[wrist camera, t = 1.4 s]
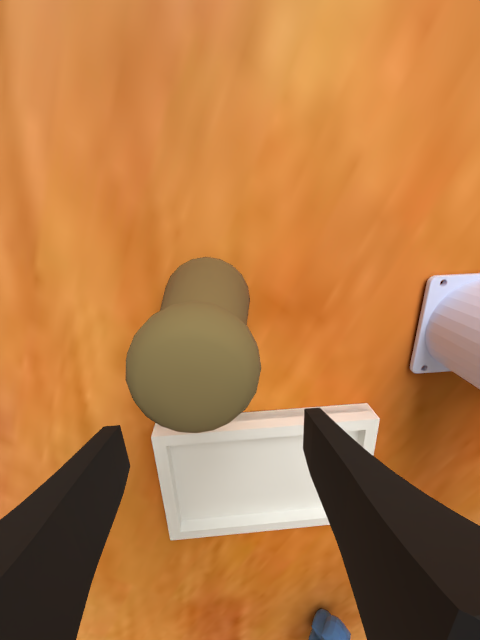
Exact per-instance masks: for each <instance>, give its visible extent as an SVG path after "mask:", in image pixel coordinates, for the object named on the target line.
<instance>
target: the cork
mask: <svg viewBox="0 0 480 640" xmlns="http://www.w3.org/2000/svg"><path fill="white" fill-rule="evenodd" d="M249 302H250V297H249V290H248V286H247V284H246V282H245V280H244V278H243V276H242V275H241V274H240V273H239V272H238V271H237V270H236V269H235V268H234V267H233V266H232V265H230V264H228V263H226V262H224V261H222V260H220V259H215V258H208V257H203V258H197V259H192V260H190V261H188V262H186V263H184V264H183V265H181V266H179V267H178V268H177V270H176V271H175V272H174V273H173V274H172V275H171V276H170V279H169V281H168V283H167V286H166V288H165V292H164V297H163V301H162V305H161V309H160V311H159V312H157V313H156V314H154V315H152V316H151V317H150V318H149V319H148V321H147V322H146V323H145V324H144V325H143V326H142V327H141V328H140V329H139V330H138V332H137V333H136V334H135V335H134V338H133V340H132V343H131V345H130V348H129V350H128V353H127V358H126V382H127V385H128V387H129V390H130V393H131V395H132V398H133V400H134V401H135V403H136V404H137V406H138V407H139V408H140V409H141V411H142V412H143V413H144V414H145V415H146V416H147V417H148V418H150V419H151V420H152V421H154V422H155V423H157V424H158V425H160V426H162V427H165V428H168V429H171V430H174V431H177V432H186V433H201V432H207V431H212V430H215V429H217V428H220V427H222V426H224V425H226V424H228V423H230V422H231V421H232V420H233V419H235V418H236V417H237V416H238V415H239V414H240V413H242V412H243V411H244V410H245V409H246V408H247V406H248V405H249V403H250V402H251V400H252V398H253V397H254V395H255V393H256V390H257V386H258V381H259V376H260V371H261V363H260V357H259V350H258V346H257V343H256V341H255V339H254V338H253V336H252V334H251V332H250V330H249V328H248V327H247V326H246V325H247V317H248V310H249Z"/></svg>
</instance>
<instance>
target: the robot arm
mask: <svg viewBox="0 0 480 640" xmlns="http://www.w3.org/2000/svg"><path fill="white" fill-rule="evenodd" d="M442 280H443V283H442V284H441V285H440V282H441V281H442ZM422 366H424V367H423V368H422ZM410 370H411V371H412V372H413V373H416V374H418V373H432V372H446V371H453V372H454V373H456V374H457V375H459V376H460V377H462V378H463V379H465V380H466V381H468V382H469V383H471V384H472V385H474V386H475V387H477V388H478V389H480V273H473V274H454V275H435V276H432V277H430V278H429V279H428V281H427V285H426V290H425V294H424V299H423V304H422V309H421V314H420V319H419V324H418V329H417V334H416V339H415V343H414V348H413V353H412V358H411V363H410ZM303 451H304V455H305V459H306V462H307V466H308V469H309V473H310V476H311V478H312V481H313V483H314V486H315V488H316V491H317V493H318V496H319V498H320V501H321V503H322V506H323V508H324V511H325V513H326V516H327V518H328V521H329V523H330V526H331V528H332V531H333V533H334V536H335V538H336V541H337V544H338V546H339V549H340V552H341V555H342V558H343V561H344V564H345V568H346V571H347V574H348V577H349V580H350V584H351V587H352V590H353V593H354V597H355V600H356V603H357V607H358V610H359V613H360V617H361V620H362V623H363V627H364V630H365V634H366V637H367V640H480V526H479V525H477V524H475V523H473V522H472V521H470V520H468V519H466V518H465V517H463V516H461V515H459V514H458V513H456V512H454V511H453V510H451V509H449V508H448V507H446V506H444V505H443V504H441V503H440V502H438V501H436V500H435V499H433V498H431V497H430V496H428V495H427V494H425V493H424V492H422V491H421V490H419V489H418V488H416V487H415V486H413V485H412V484H410V483H409V482H407V481H406V480H405V479H403V478H402V477H400V476H399V475H397V474H396V473H395V472H393V471H392V470H391V469H389V468H388V467H387V466H385V465H384V464H383V463H382V462H380V461H379V460H378V459H376V458H375V457H374V456H373V455H371V454H370V453H369V452H368V451H367V450H365V449H364V448H363V447H362V446H361V445H360V444H359V443H357V442H356V441H355V440H354V439H353V438H352V437H351V436H350V435H348V434H347V433H346V432H345V431H344V430H343V429H342V428H341V427H340V426H339V425H338V424H337V423H336V422H334V421H333V420H332V419H331V418H330V417H329V416H328V415H327V414H326V413H325V412H324V411H323V410H322V409H321V408H320V407H319V408H308V409H304V432H303ZM129 468H130V463H129V459H128V455H127V451H126V447H125V443H124V439H123V435H122V431H121V427H120V425H117V426H106V427H103V428H102V429H101V430H100V431H99V432H98V433H97V434H95V435H94V436H93V437H92V438H91V439H90V440H89V441H88V442H87V443H86V444H85V445H84V446H83V447H82V448H81V449H80V450H79V451H78V452H77V453H76V454H75V455H74V456H73V457H72V458H71V459H70V460H68V461H67V462H66V463H65V464H64V465H63V466H62V467H61V468H60V469H59V470H58V471H57V472H56V473H55V474H54V475H52V476H51V477H50V478H49V479H48V480H47V481H46V482H45V483H43V484H42V485H41V486H40V487H39V488H38V489H37V490H36V491H34V492H33V493H32V494H31V495H30V496H29V497H28V498H27V499H25V500H24V501H23V502H22V503H21V504H19V505H18V506H17V507H16V508H15V509H13V510H12V511H11V512H10V513H8V514H7V515H6V516H5V517H3V518H2V519H1V520H0V640H76V638H77V634H78V630H79V626H80V622H81V619H82V615H83V611H84V608H85V604H86V601H87V597H88V594H89V590H90V586H91V583H92V580H93V577H94V574H95V571H96V568H97V565H98V562H99V559H100V556H101V554H102V551H103V548H104V546H105V543H106V540H107V537H108V535H109V532H110V529H111V527H112V524H113V521H114V519H115V516H116V513H117V510H118V507H119V505H120V502H121V499H122V496H123V493H124V489H125V485H126V481H127V477H128V473H129Z"/></svg>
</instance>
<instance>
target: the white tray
mask: <svg viewBox="0 0 480 640" xmlns="http://www.w3.org/2000/svg"><path fill="white" fill-rule="evenodd" d="M309 408H319V407H309ZM320 408H321V409H322V410H323V411H324V412H325V413H326V414H327V415H328V416H329V417H330V418H331V419H332V420H333V421H334V422H336V423H337V424H338V425H339V426H340V427H341V428H342V429H343V430H344V431H345V432H346V433H347V434H348V435H350V436H351V437H352V438H353V439H354V440H355V441H356V442H357V443H359V444H360V445H361V446H362V447H363V448H364V449H365V450H367V451H368V452H369V453H370V454H371V455H374V450H375V444H376V438H377V432H378V427H379V421H380V418H379V417H378V416H377V415H376V413H375V412H374V411H373V410H372V408H371V407H370V406H369V405H368V403H362V404H349V405H336V406H322V407H320ZM304 409H308V408H296V409H283V410H270V411H257V412H244V413H240V414H239V415H238V416H237V417H236V418H235V419H233V420H232V421H231V422H230V423H228V424H226V425H224V426H222V427H220V428H217V429H215V430H212V431H207V432H201V433H186V432H177V431H174V430H171V429H168V428H165V427H162V426H160V425H158V424H157V423H155V426H154V429H153V432H152V436H151V439H152V445H153V450H154V455H155V461H156V466H157V471H158V477H159V482H160V487H161V492H162V498H163V503H164V508H165V514H166V519H167V524H168V530H169V535H170V540H180V539H190V538H200V537H210V536H220V535H230V534H240V533H251V532H261V531H271V530H281V529H291V528H301V527H311V526H321V525H330V523H329V521H328V518H327V516H326V513H325V511H324V508H323V506H322V503H321V501H320V498H319V496H318V493H317V491H316V488H315V486H314V483H313V481H312V478H311V476H310V473H309V469H308V466H307V462H306V459H305V455H304V451H303V432H304Z"/></svg>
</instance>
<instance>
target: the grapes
mask: <svg viewBox="0 0 480 640" xmlns="http://www.w3.org/2000/svg"><path fill="white" fill-rule="evenodd" d="M350 635H351V634H350V632H349V631H348V629H347V628H346V626H345V625H344V623H343V622H342V621H341V620H340V619H339V618H338V617H336V616H333V615H331V614H330V613H329V612H328V611H327V610H325V609H320V610H318V611H317V612H316V614H315V616H314V619H313V623H312V630H311V632H310V636H309V640H350Z"/></svg>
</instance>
